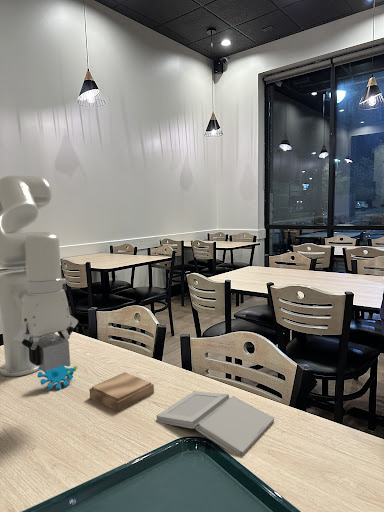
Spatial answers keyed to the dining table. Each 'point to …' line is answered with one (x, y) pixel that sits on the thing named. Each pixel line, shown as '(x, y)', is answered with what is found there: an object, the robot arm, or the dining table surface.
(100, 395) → the stand
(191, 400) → the grey folded flat piece
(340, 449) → the dining table surface
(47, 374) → the gear
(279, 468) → the dining table surface
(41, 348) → the grey rectangular block
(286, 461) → the dining table surface
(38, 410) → the dining table surface
